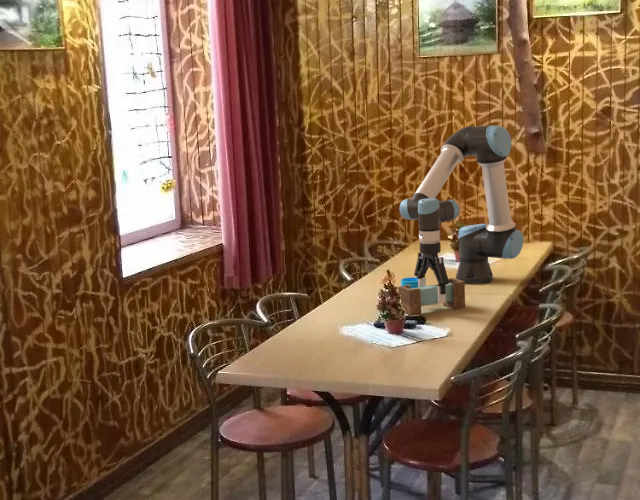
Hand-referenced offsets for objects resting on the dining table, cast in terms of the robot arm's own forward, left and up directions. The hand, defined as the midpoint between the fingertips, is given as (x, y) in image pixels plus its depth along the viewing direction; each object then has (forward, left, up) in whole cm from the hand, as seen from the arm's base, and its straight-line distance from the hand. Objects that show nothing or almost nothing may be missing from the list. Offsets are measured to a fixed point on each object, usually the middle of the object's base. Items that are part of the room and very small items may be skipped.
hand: (432, 299), depth 340 cm
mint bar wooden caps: (0, 0, -4) cm, 4 cm away
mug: (-4, -20, -4) cm, 21 cm away
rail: (0, 0, -1) cm, 1 cm away
